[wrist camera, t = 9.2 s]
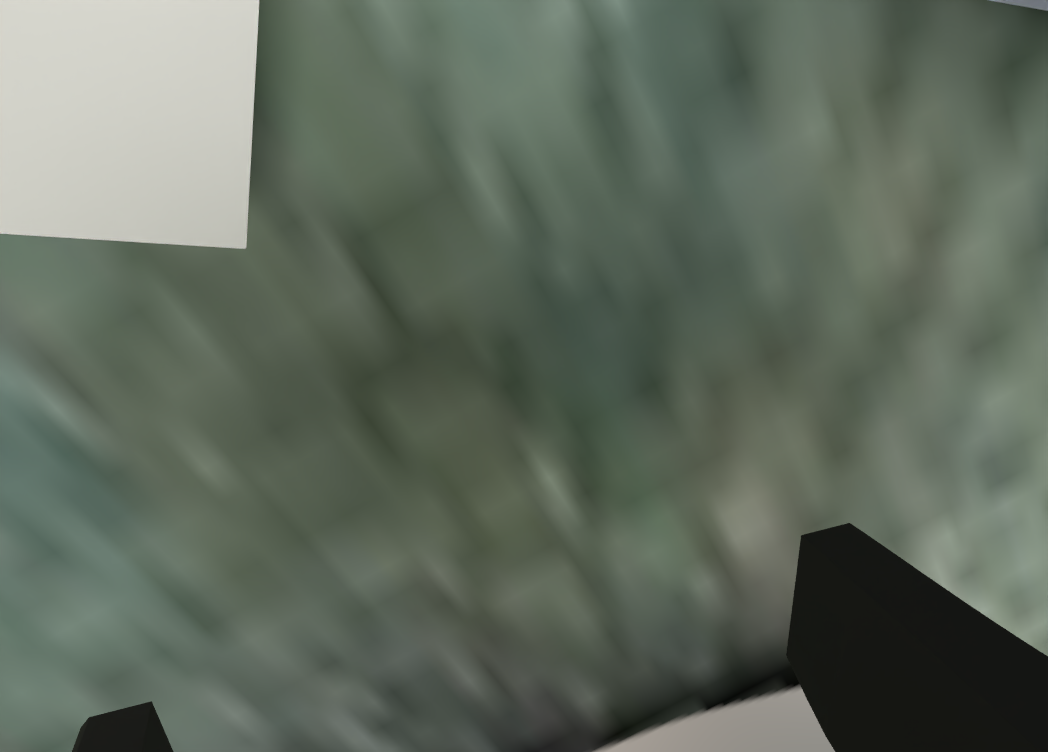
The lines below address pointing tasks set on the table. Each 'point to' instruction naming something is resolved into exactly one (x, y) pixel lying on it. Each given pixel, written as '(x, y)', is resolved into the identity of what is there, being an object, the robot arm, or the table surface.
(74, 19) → the fuse block
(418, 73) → the table surface
